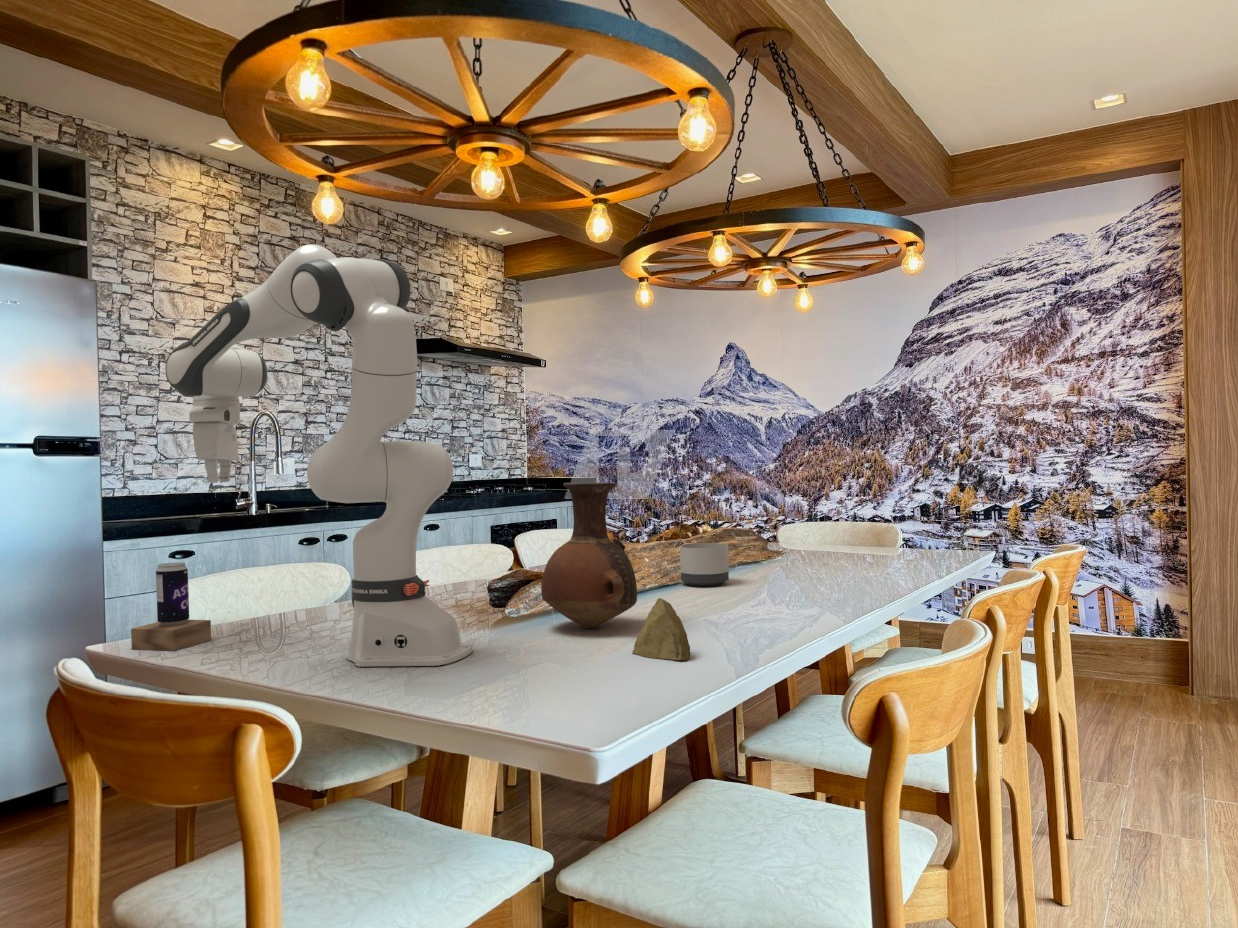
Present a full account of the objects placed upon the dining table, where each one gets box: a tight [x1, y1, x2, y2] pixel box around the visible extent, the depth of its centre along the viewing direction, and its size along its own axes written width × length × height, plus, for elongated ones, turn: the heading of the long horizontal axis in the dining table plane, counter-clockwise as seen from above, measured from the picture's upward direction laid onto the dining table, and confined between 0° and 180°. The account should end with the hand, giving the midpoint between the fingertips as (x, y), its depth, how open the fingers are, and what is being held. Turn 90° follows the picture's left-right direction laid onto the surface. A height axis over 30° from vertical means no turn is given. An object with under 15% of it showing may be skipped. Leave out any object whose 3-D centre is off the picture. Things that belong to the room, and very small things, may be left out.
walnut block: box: [130, 619, 212, 652], centre depth 174 cm, size 10×10×4 cm
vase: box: [540, 482, 638, 630], centre depth 180 cm, size 25×20×30 cm
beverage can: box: [155, 561, 190, 626], centre depth 174 cm, size 6×6×12 cm
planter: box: [679, 542, 730, 588], centre depth 234 cm, size 13×13×10 cm
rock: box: [631, 597, 691, 661], centre depth 152 cm, size 11×9×10 cm
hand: (219, 482), depth 181 cm, fingers open, 8 cm apart
